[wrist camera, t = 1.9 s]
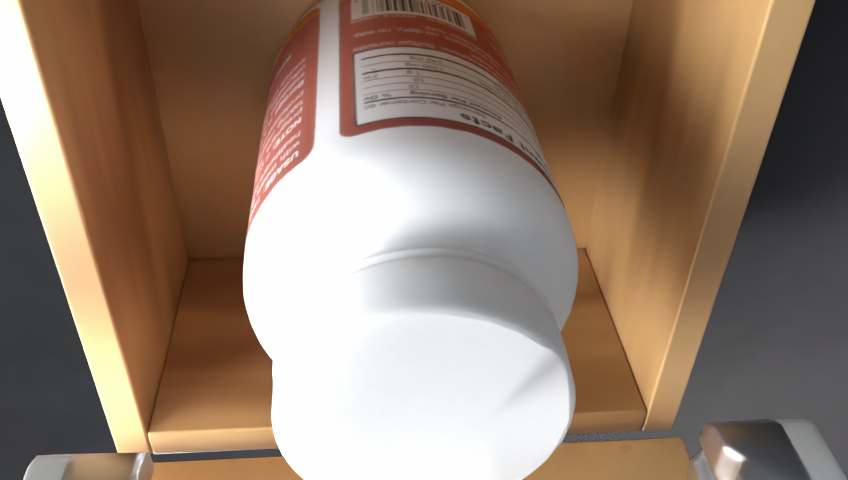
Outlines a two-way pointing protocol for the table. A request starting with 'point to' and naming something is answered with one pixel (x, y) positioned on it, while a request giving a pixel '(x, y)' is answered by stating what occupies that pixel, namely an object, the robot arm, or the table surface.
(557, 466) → the chest lid
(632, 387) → the chest
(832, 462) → the robot arm
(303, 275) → the pill bottle
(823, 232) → the table surface
